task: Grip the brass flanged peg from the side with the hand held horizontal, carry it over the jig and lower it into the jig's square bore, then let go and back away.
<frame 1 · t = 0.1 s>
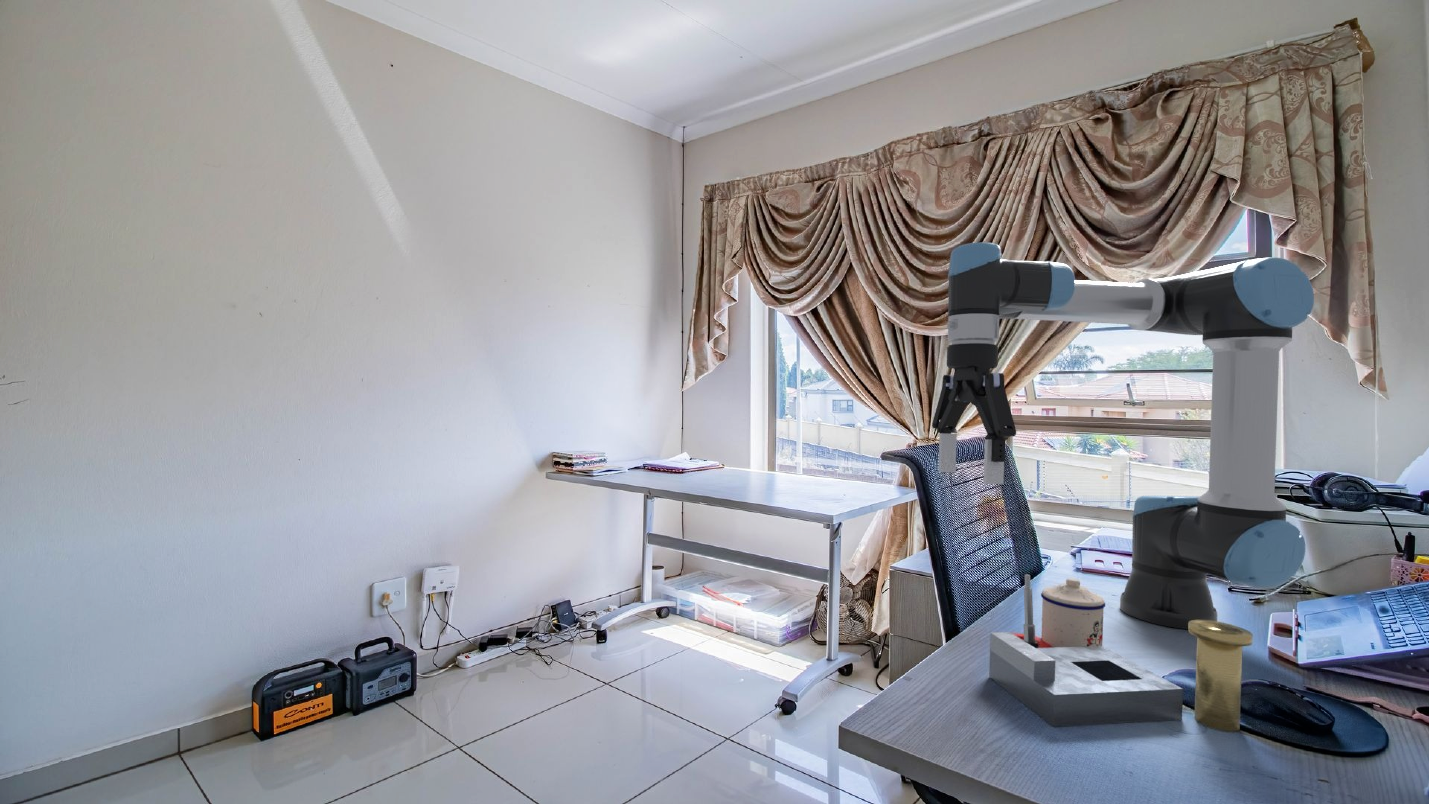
hand: (968, 477, 101), 28 cm above the table, tool pointing down, fingers open, 13 cm apart
teacup with lid: (1072, 649, 105), on the table, touching tow hook
tow hook: (1022, 649, 103), on the table, touching teacup with lid
brass flanged peg: (1216, 722, 81), on the table
jig: (1079, 697, 87), on the table
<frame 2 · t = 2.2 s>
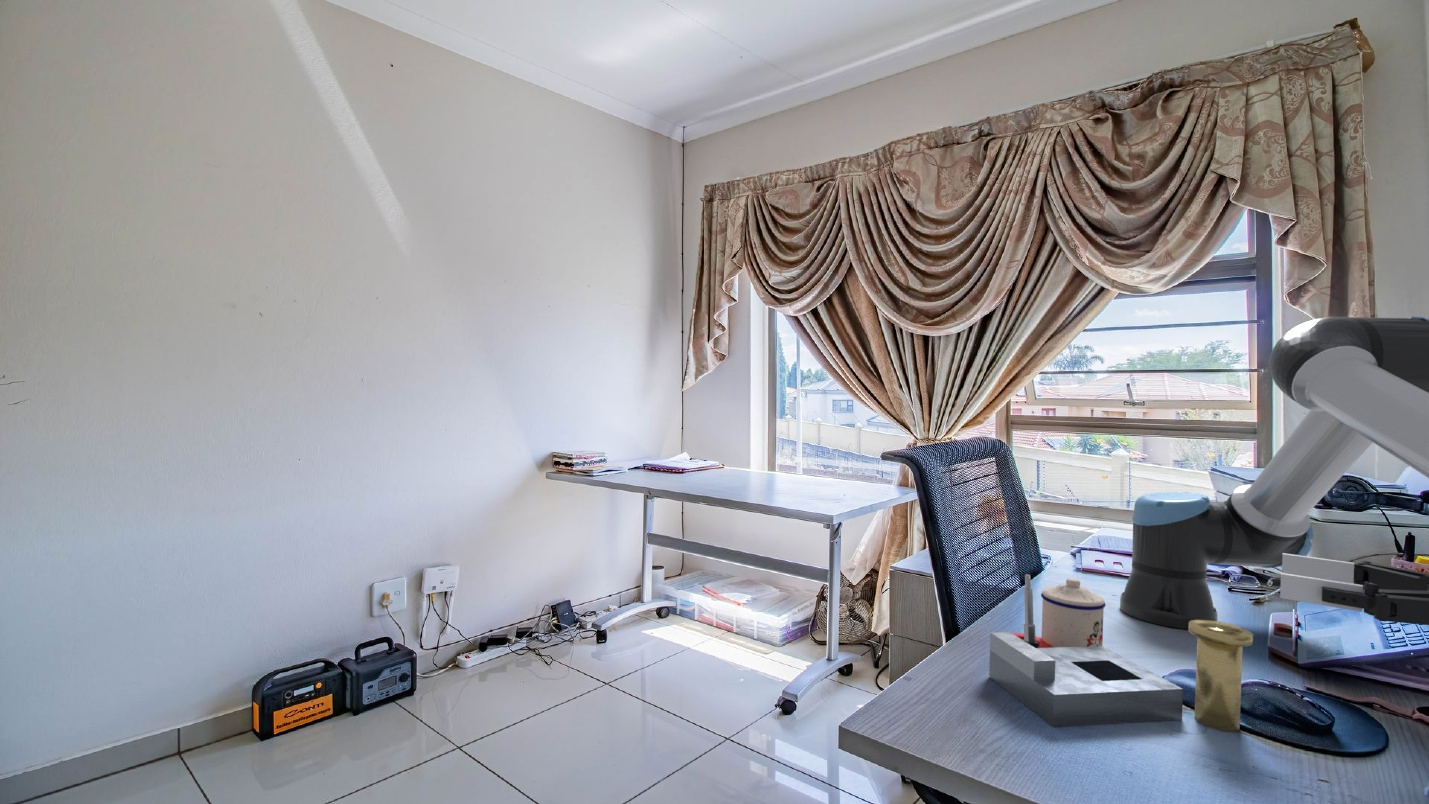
hand: (1280, 573, 77), 20 cm above the table, tool horizontal, fingers open, 13 cm apart
nothing on the table moved.
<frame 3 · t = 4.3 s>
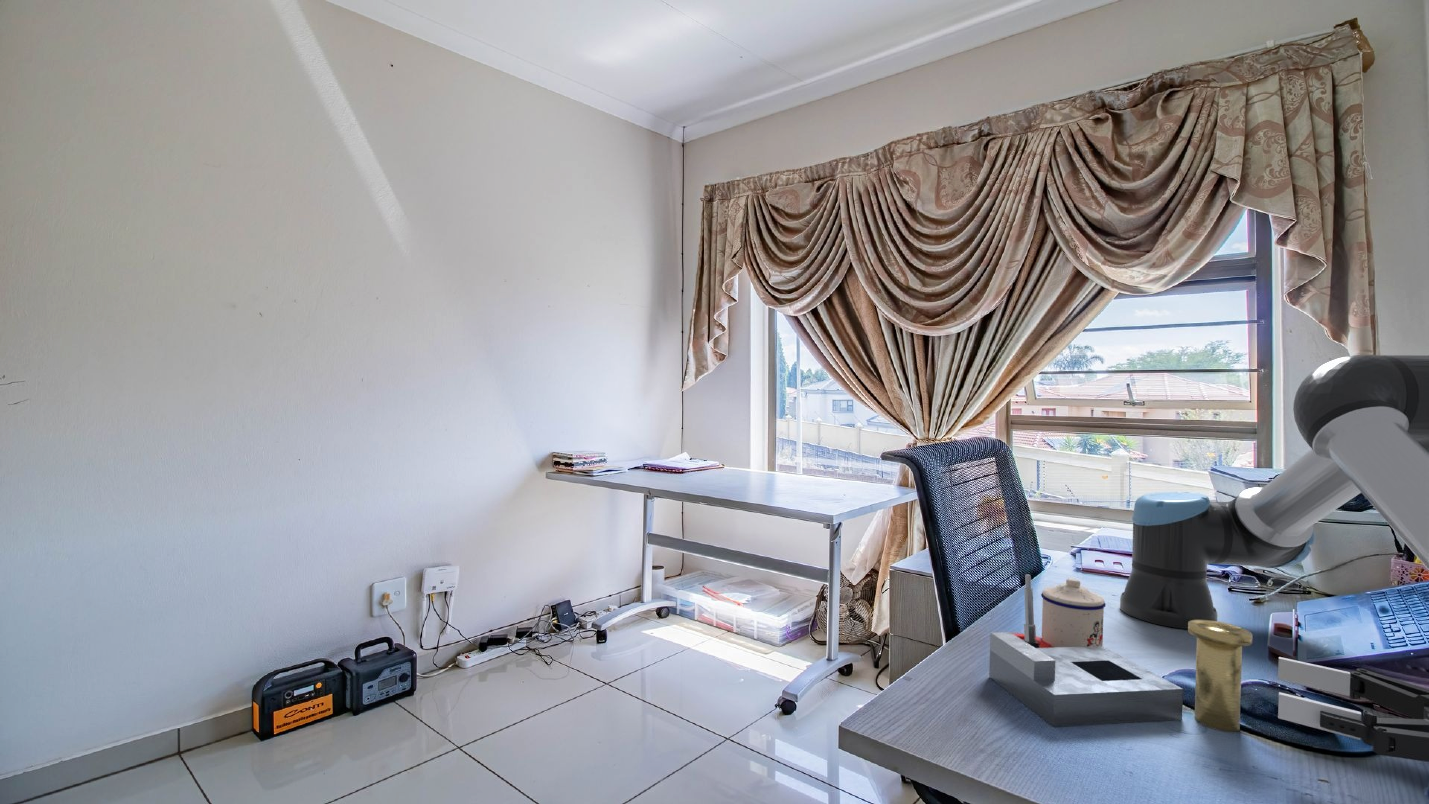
hand: (1277, 685, 77), 7 cm above the table, tool horizontal, fingers open, 13 cm apart
nothing on the table moved.
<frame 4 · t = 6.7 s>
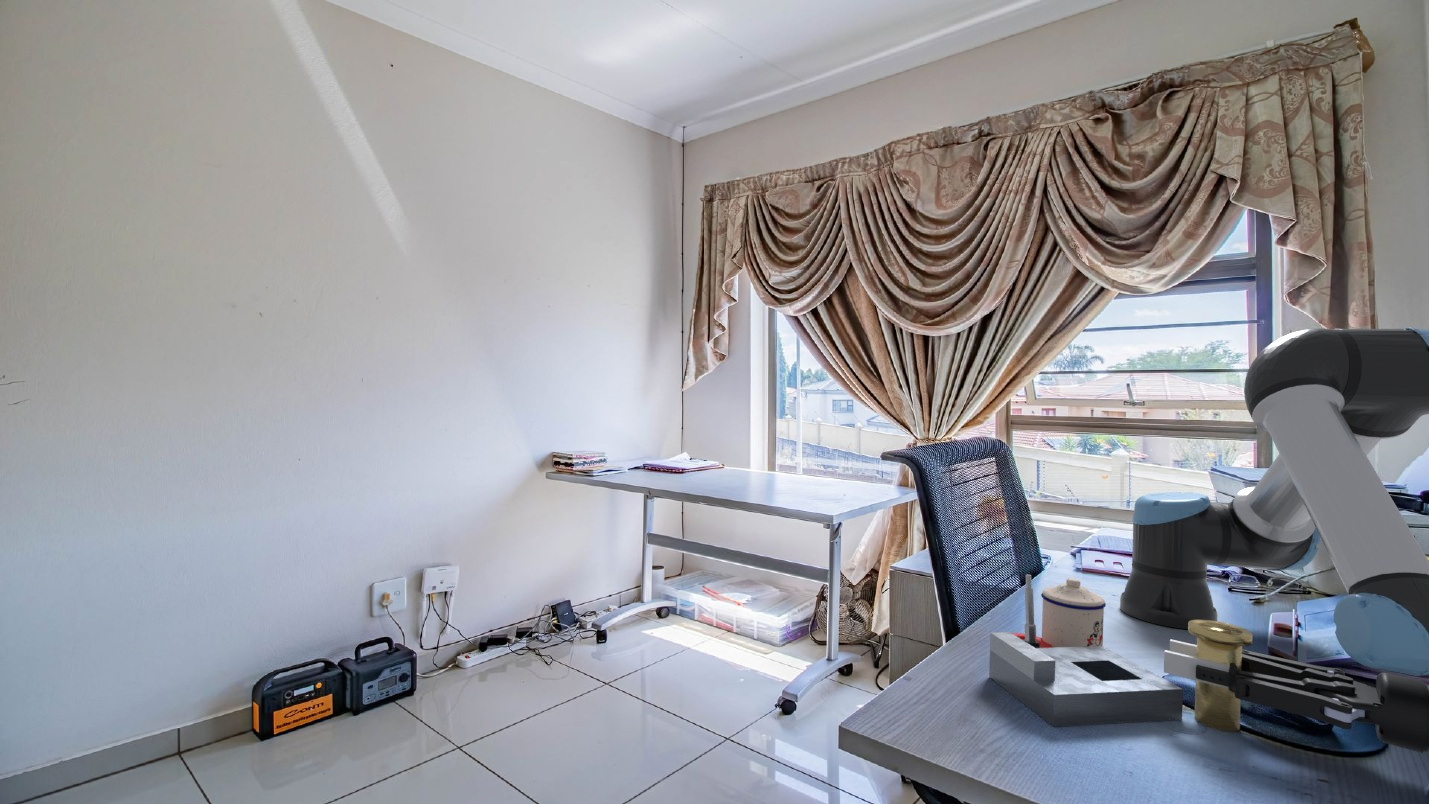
hand: (1167, 655, 85), 7 cm above the table, tool horizontal, fingers closed on brass flanged peg, 4 cm apart
brass flanged peg: (1216, 722, 81), on the table, touching gripper
everything else where it was.
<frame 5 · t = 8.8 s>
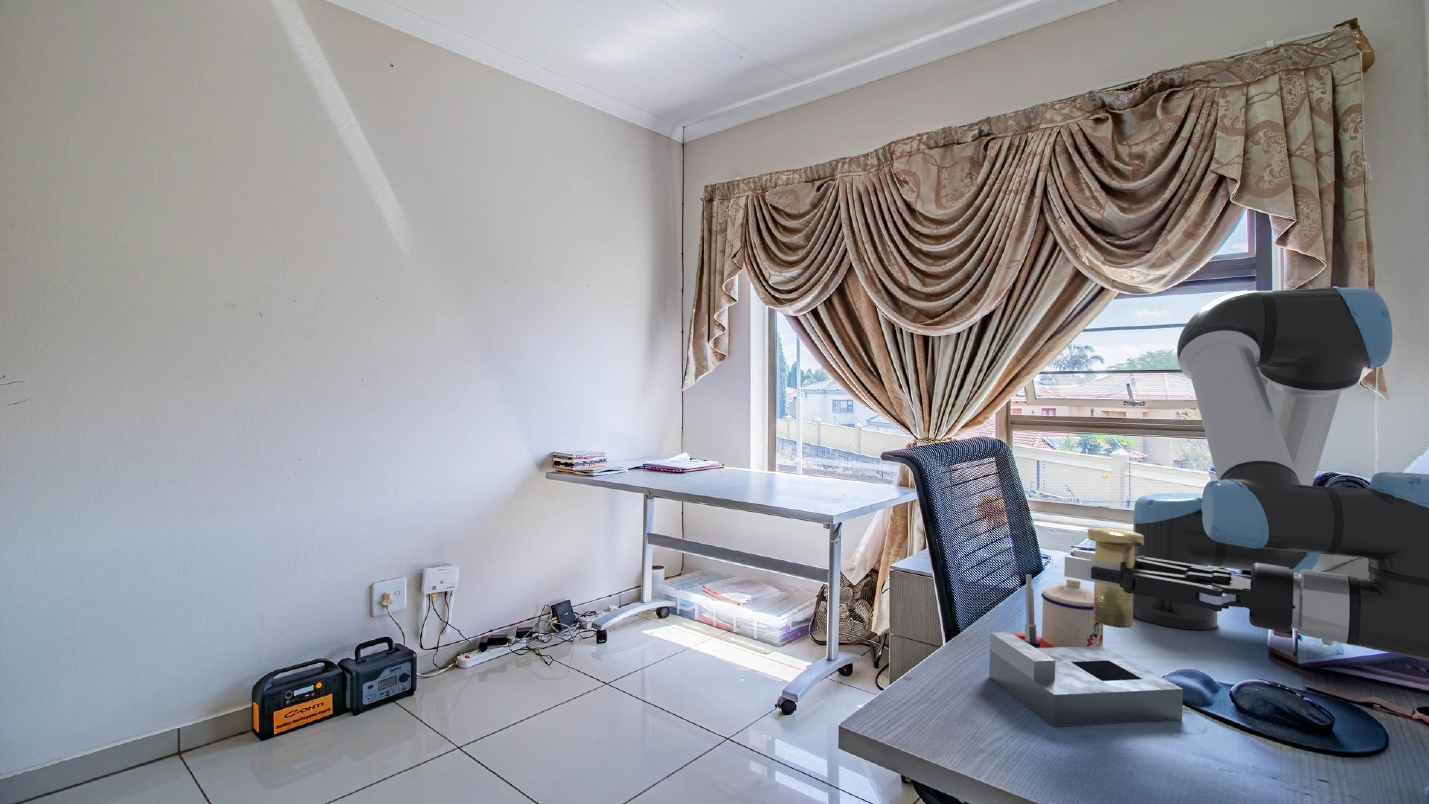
hand: (1070, 562, 89), 18 cm above the table, tool horizontal, fingers closed on brass flanged peg, 4 cm apart
brass flanged peg: (1112, 621, 86), point 11 cm above the table, touching gripper
everything else where it was.
when the fingers open (9 cm above the table, at t = 11.2 s): brass flanged peg drops 2 cm, resting in jig.
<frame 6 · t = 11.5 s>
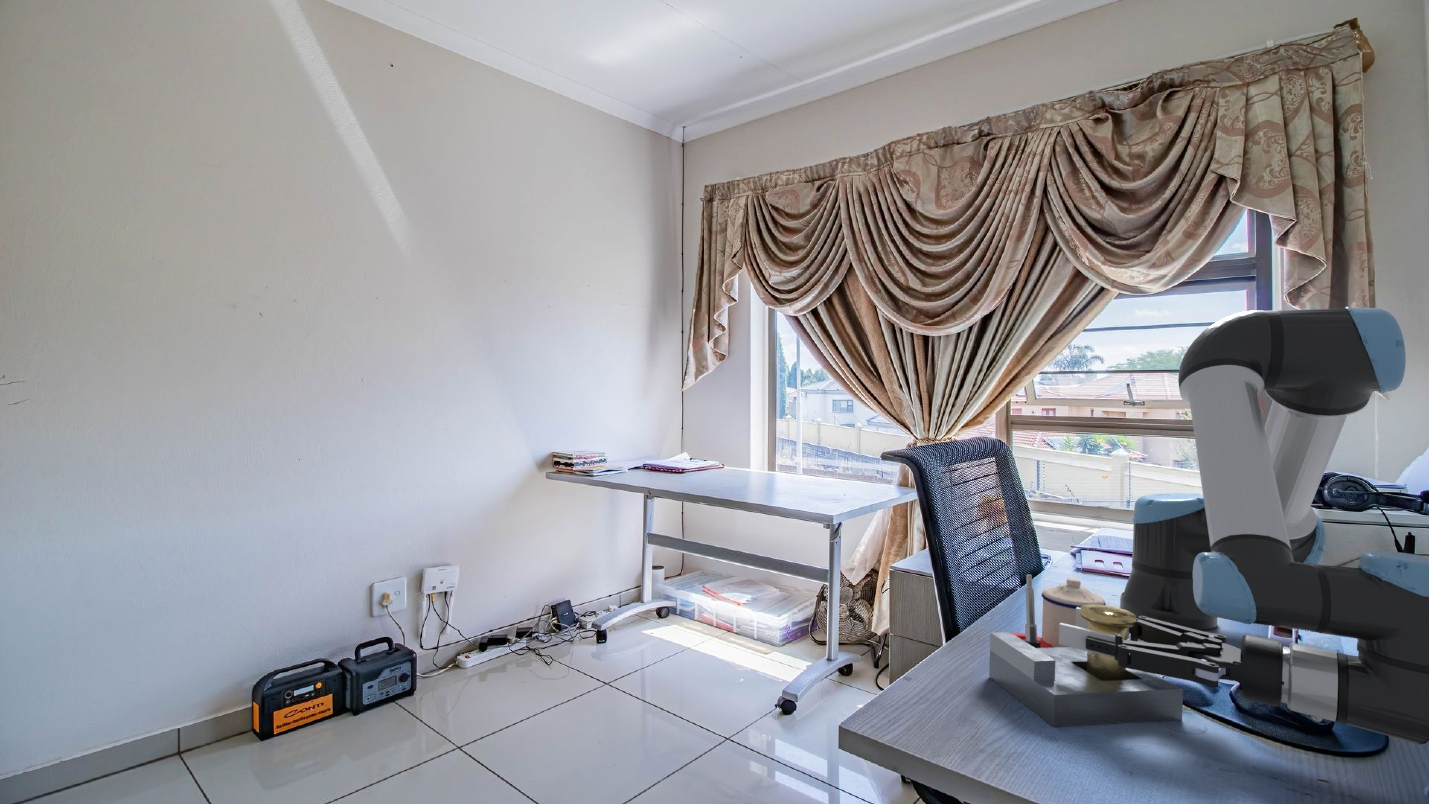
hand: (1068, 624, 90), 9 cm above the table, tool horizontal, fingers open, 8 cm apart
brass flanged peg: (1105, 699, 87), resting in jig
everything else where it was.
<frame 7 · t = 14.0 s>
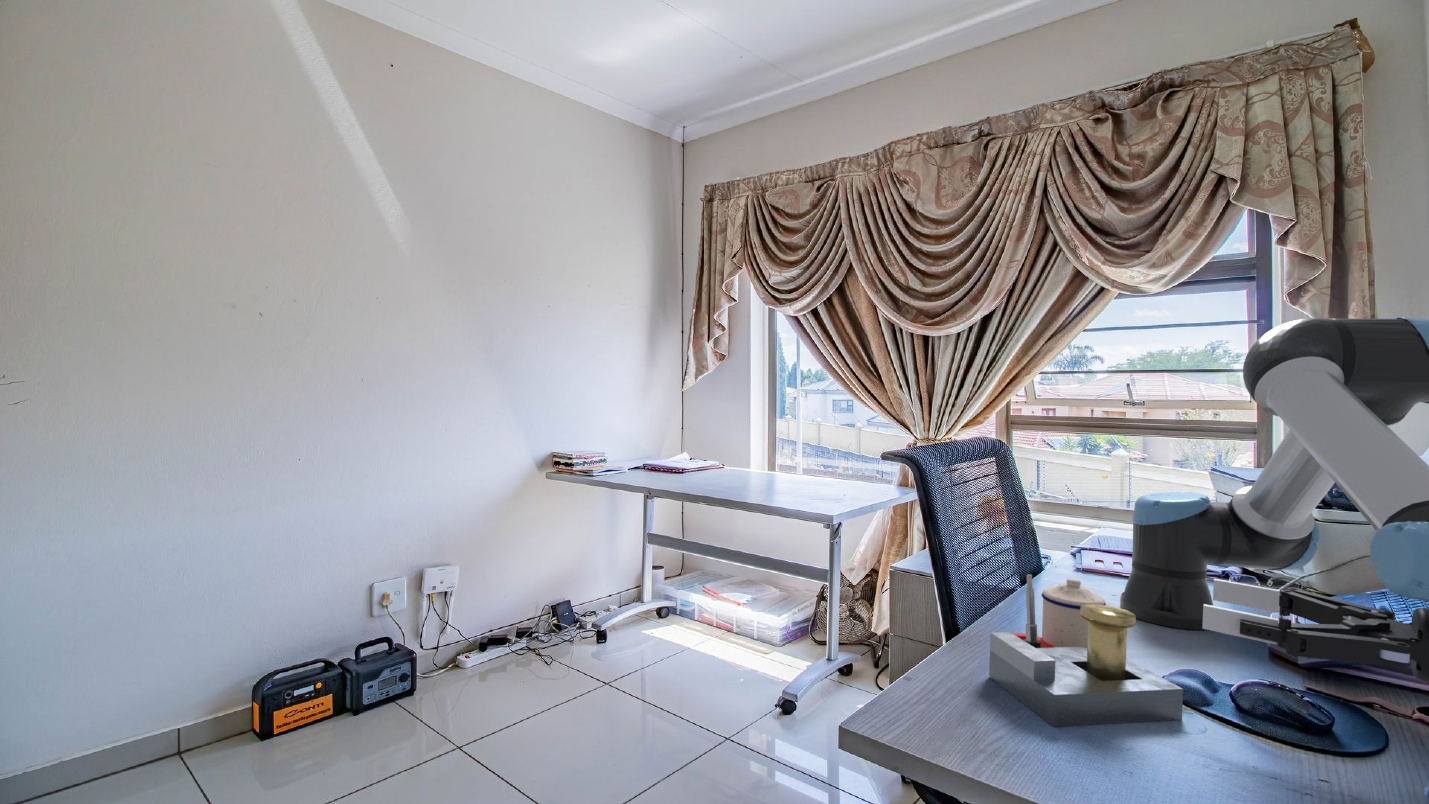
hand: (1208, 601, 79), 16 cm above the table, tool horizontal, fingers open, 13 cm apart
nothing on the table moved.
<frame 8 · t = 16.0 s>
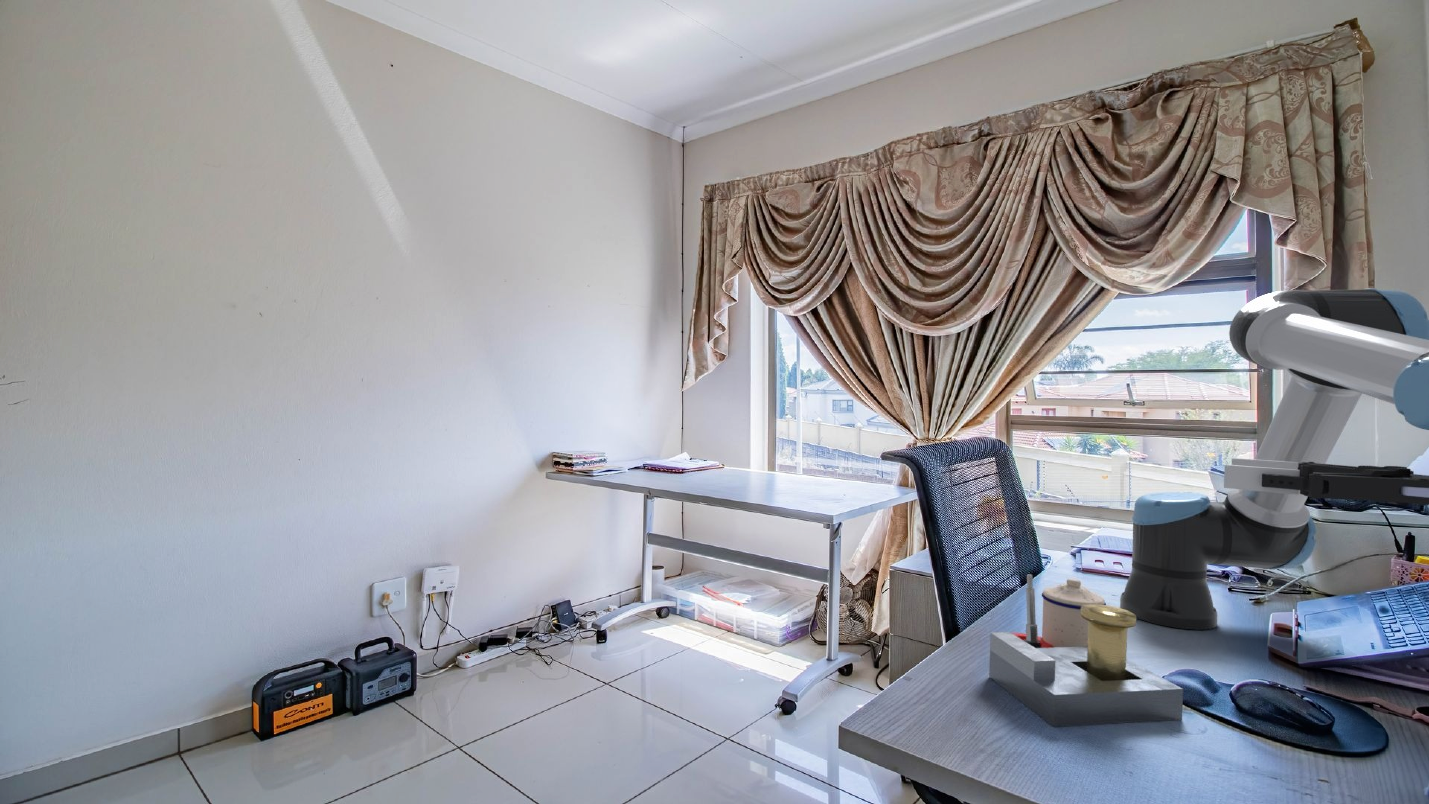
hand: (1227, 471, 80), 32 cm above the table, tool horizontal, fingers open, 13 cm apart
nothing on the table moved.
at the end: brass flanged peg 0.0 cm from the target spot on the jig, point 0.0 cm above the jig's base; brass flanged peg tilted 0°; the gripper is holding nothing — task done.
